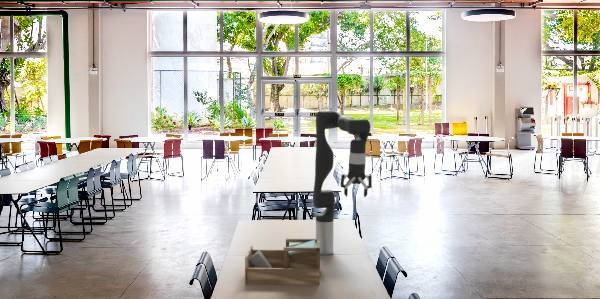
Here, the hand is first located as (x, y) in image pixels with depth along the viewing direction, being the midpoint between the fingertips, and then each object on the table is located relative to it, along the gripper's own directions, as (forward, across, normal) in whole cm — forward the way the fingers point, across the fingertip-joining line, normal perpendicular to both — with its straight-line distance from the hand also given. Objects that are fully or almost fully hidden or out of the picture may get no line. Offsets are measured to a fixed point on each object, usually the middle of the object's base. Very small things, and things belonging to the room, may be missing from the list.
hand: (355, 196), depth 280 cm
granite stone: (+27, +46, +7) cm, 54 cm away
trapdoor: (+23, +24, +9) cm, 34 cm away
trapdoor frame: (+37, +32, +9) cm, 50 cm away
